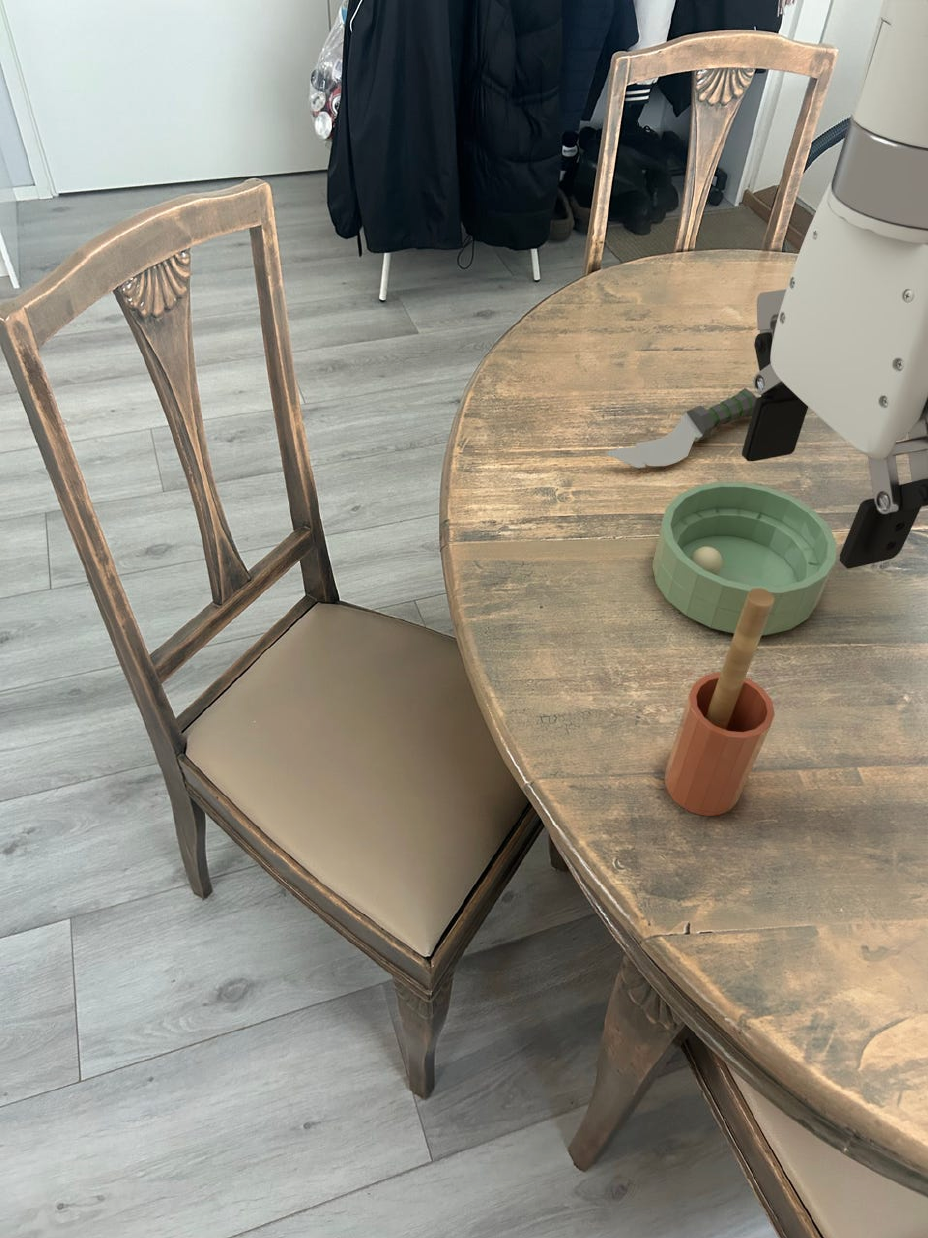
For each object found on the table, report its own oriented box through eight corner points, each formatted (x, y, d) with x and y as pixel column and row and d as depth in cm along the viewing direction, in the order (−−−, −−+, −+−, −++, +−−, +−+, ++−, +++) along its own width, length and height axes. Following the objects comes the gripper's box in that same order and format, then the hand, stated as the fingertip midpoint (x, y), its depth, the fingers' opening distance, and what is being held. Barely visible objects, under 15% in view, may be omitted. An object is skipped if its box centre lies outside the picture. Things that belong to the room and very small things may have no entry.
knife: (635, 475, 92) (609, 437, 93) (618, 494, 96) (594, 458, 97) (779, 409, 101) (754, 375, 102) (758, 430, 105) (735, 397, 106)
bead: (696, 581, 85) (678, 566, 84) (709, 555, 86) (692, 539, 84) (720, 585, 83) (702, 569, 81) (733, 558, 83) (716, 541, 82)
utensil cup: (753, 805, 67) (790, 726, 60) (685, 824, 66) (714, 746, 59) (717, 746, 71) (747, 665, 64) (652, 763, 70) (675, 682, 63)
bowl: (849, 619, 81) (872, 572, 77) (699, 655, 78) (713, 607, 74) (762, 517, 92) (777, 470, 87) (625, 544, 88) (635, 497, 84)
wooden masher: (715, 794, 67) (788, 611, 53) (691, 799, 67) (758, 616, 52) (698, 762, 69) (764, 577, 55) (675, 767, 69) (735, 583, 54)
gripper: (1180, 245, 31) (978, 594, 43) (880, 106, 43) (787, 412, 55) (1005, 272, 30) (847, 626, 42) (744, 120, 41) (679, 431, 53)
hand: (813, 504), depth 48 cm, fingers open, 9 cm apart
